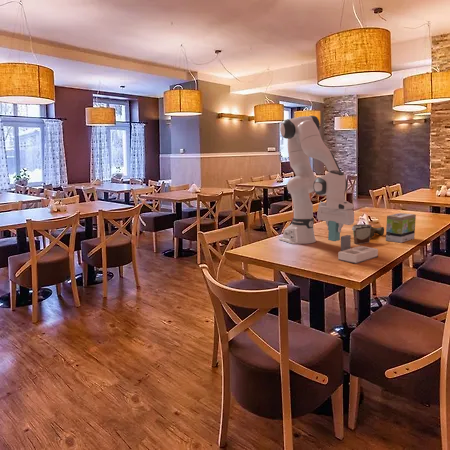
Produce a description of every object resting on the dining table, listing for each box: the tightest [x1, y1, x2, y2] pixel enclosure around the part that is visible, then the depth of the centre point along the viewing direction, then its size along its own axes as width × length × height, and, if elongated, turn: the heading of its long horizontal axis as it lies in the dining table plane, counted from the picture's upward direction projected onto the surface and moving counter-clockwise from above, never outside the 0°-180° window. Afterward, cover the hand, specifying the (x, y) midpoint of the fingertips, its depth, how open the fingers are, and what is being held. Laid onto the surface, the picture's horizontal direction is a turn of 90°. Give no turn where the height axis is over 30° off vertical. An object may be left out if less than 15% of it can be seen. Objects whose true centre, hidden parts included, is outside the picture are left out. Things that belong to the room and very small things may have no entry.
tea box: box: [385, 212, 417, 244], centre depth 239 cm, size 15×10×15 cm
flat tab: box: [340, 234, 352, 251], centre depth 215 cm, size 2×6×9 cm, turn 128°
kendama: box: [370, 226, 385, 240], centre depth 253 cm, size 6×10×20 cm
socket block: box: [337, 245, 379, 265], centre depth 204 cm, size 10×18×4 cm, turn 128°
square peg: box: [327, 221, 341, 242], centre depth 208 cm, size 4×4×10 cm
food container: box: [351, 223, 372, 245], centre depth 237 cm, size 12×6×10 cm, turn 117°
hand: (334, 231), depth 208 cm, fingers closed on square peg, 4 cm apart
